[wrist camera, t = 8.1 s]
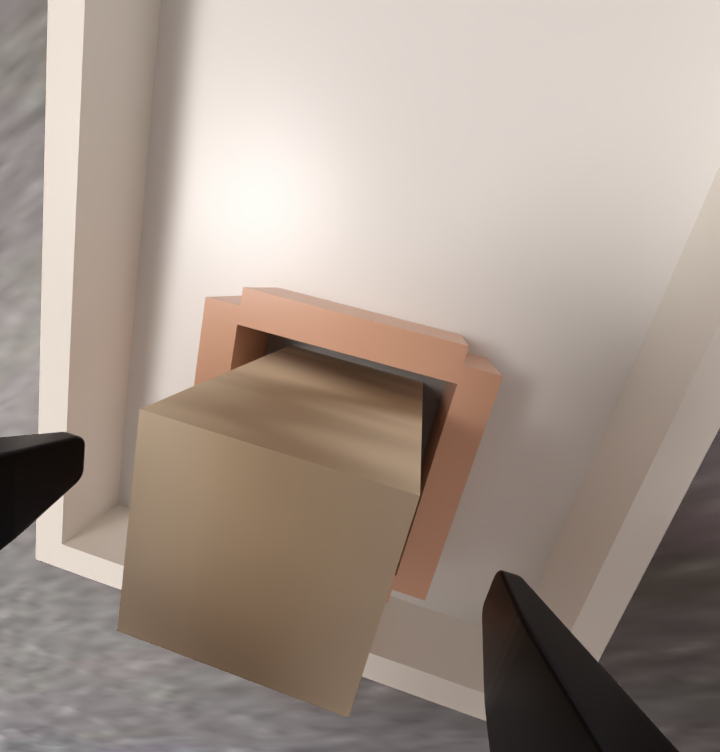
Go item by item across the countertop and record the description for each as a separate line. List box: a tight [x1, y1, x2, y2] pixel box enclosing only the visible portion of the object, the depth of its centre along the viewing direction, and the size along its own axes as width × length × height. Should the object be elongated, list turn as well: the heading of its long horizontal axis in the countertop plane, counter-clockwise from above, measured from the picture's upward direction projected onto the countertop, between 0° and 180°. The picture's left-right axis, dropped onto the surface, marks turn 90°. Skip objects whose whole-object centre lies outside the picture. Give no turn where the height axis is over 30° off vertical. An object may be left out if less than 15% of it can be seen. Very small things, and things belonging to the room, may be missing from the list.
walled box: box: [36, 0, 720, 721], centre depth 11 cm, size 18×24×3 cm
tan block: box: [117, 345, 423, 718], centre depth 10 cm, size 4×4×7 cm
